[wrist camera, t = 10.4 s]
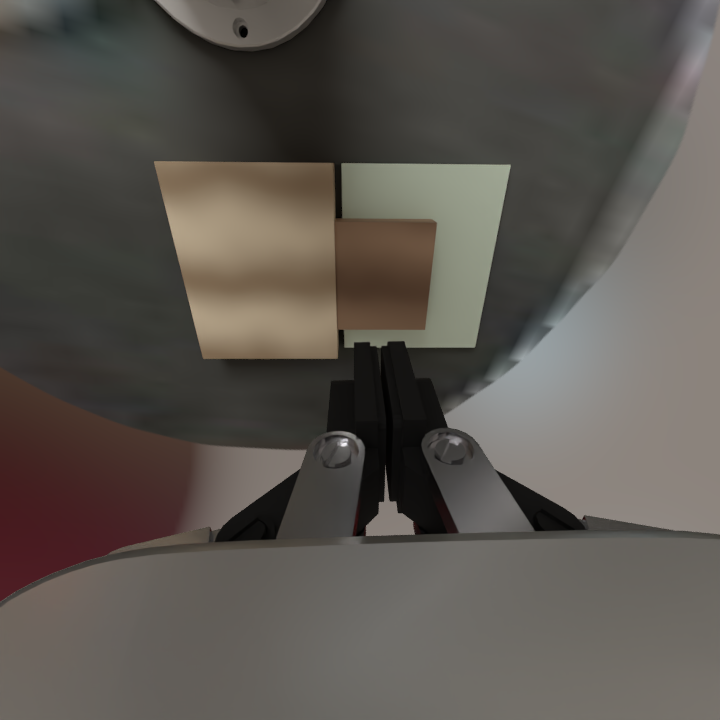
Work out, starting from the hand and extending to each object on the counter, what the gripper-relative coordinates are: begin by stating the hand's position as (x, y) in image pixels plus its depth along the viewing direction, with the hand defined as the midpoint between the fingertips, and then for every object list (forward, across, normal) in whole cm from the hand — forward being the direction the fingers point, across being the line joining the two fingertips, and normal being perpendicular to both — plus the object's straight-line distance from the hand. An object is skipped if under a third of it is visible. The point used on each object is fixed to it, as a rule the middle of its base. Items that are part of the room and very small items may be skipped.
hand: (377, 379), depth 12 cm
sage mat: (+17, -4, +1) cm, 18 cm away
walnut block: (+17, -1, +1) cm, 17 cm away
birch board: (+18, +8, +1) cm, 19 cm away
